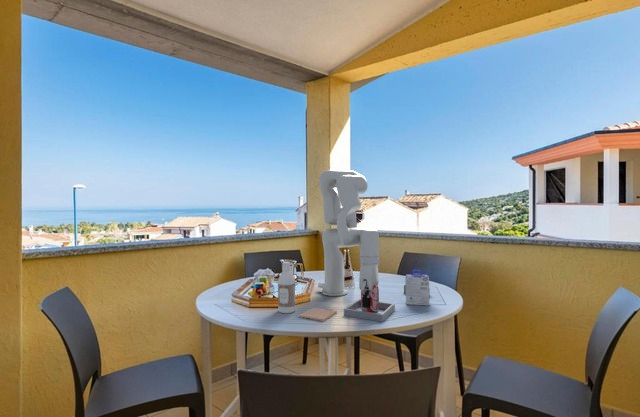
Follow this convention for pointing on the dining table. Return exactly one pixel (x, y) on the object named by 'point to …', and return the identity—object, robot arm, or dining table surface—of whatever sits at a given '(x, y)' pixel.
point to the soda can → (372, 300)
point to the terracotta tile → (318, 314)
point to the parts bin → (369, 315)
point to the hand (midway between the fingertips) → (369, 304)
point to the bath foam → (286, 290)
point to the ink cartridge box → (417, 289)
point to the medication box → (405, 289)
